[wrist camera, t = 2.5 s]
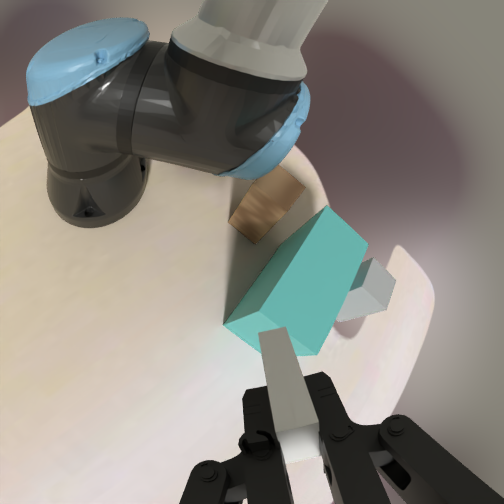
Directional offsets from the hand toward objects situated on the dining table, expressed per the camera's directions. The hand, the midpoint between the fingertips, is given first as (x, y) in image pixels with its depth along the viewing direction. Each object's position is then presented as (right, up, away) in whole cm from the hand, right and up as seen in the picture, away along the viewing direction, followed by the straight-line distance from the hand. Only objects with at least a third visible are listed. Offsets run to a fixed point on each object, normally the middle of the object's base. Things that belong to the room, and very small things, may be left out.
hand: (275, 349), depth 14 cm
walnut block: (-1, +10, +26) cm, 28 cm away
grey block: (+12, -2, +26) cm, 29 cm away
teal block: (+2, -1, +23) cm, 23 cm away
